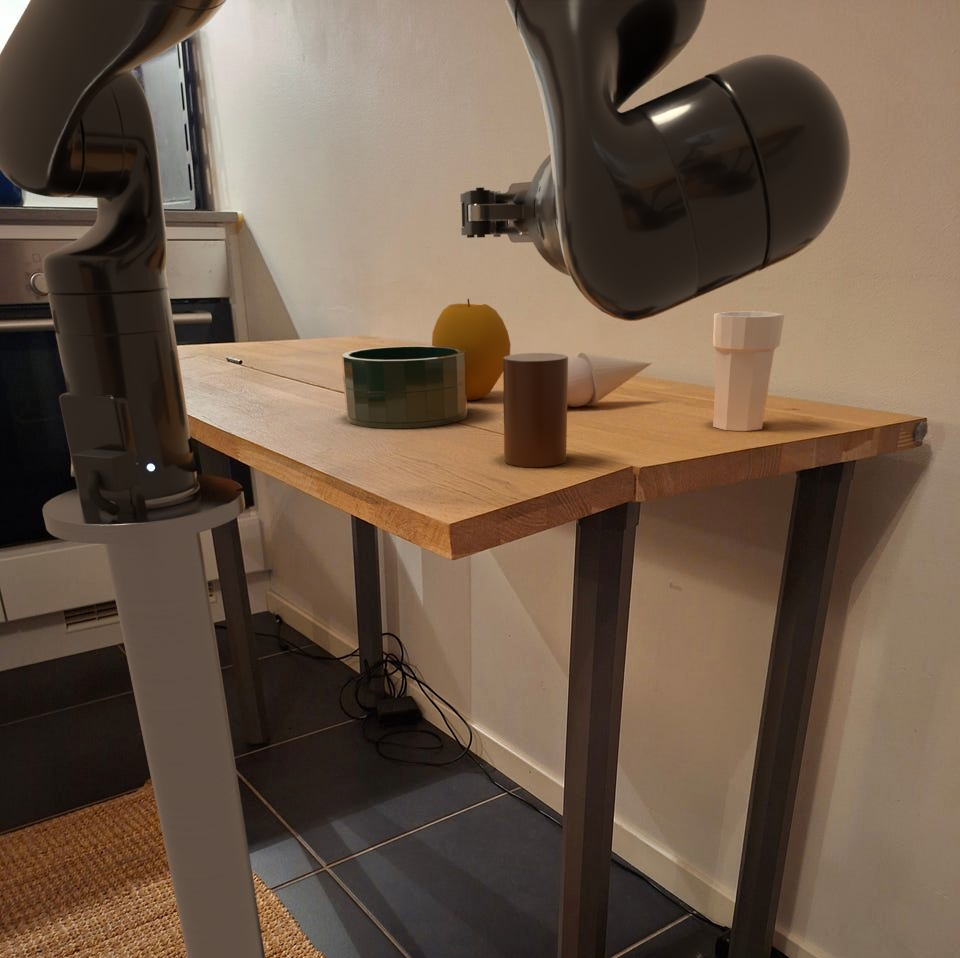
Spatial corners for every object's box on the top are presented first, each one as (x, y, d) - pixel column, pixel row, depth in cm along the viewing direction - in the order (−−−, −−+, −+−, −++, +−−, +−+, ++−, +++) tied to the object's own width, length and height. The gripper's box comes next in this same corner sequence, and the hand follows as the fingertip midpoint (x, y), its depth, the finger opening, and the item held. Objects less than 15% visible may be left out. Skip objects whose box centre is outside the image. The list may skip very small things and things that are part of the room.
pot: (436, 431, 94) (433, 362, 92) (324, 424, 99) (318, 358, 96) (485, 409, 106) (484, 347, 103) (382, 404, 111) (378, 344, 108)
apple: (525, 396, 114) (526, 297, 109) (475, 407, 107) (472, 302, 103) (468, 389, 120) (466, 295, 115) (417, 399, 113) (412, 299, 108)
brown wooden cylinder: (554, 469, 78) (556, 361, 75) (495, 465, 80) (493, 360, 77) (574, 455, 83) (576, 353, 79) (516, 451, 85) (516, 352, 81)
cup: (693, 427, 94) (702, 315, 89) (724, 417, 98) (734, 310, 94) (752, 435, 90) (764, 318, 85) (782, 424, 94) (795, 312, 90)
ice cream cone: (657, 400, 108) (540, 429, 106) (637, 362, 111) (522, 390, 108) (668, 363, 103) (545, 394, 100) (647, 325, 105) (526, 354, 103)
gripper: (740, 125, 48) (660, 152, 62) (471, 129, 47) (454, 155, 61) (727, 278, 51) (654, 269, 65) (475, 285, 50) (458, 274, 65)
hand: (557, 214), depth 63 cm, fingers open, 8 cm apart
